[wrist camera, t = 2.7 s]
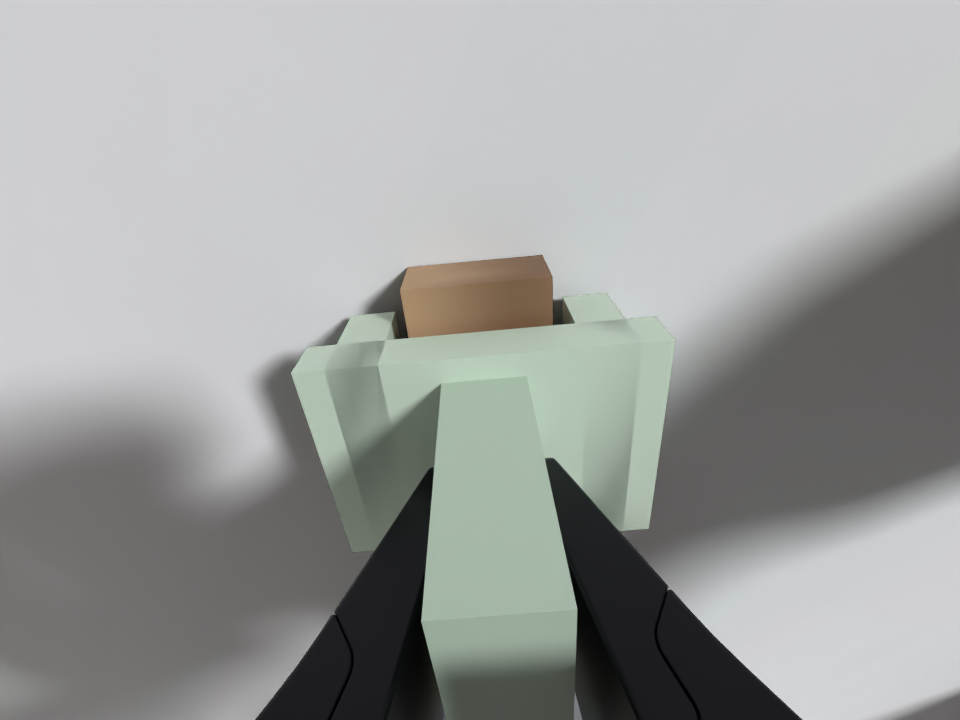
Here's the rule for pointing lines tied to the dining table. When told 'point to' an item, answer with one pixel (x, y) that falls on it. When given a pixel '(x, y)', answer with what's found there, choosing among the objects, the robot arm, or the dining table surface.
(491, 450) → the carriage
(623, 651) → the robot arm
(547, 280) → the rail
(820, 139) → the dining table surface
